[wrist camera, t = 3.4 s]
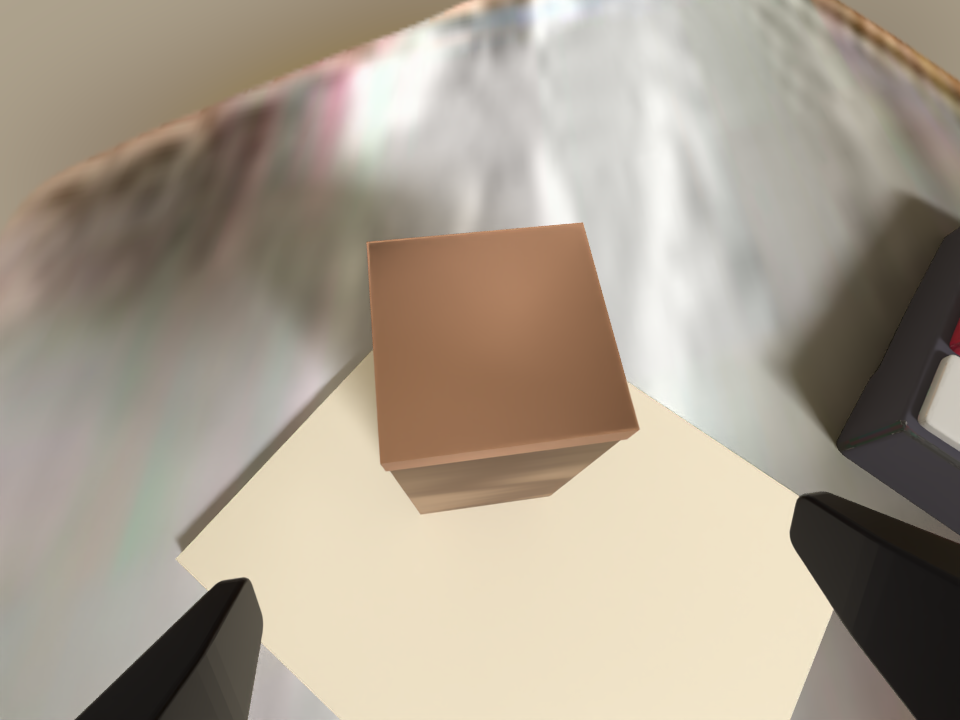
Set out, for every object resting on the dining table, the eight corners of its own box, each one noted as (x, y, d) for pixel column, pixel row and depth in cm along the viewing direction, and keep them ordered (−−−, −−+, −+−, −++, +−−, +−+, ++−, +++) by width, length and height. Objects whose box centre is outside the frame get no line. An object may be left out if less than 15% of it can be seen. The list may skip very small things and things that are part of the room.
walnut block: (527, 375, 21) (582, 222, 12) (551, 497, 19) (639, 429, 10) (408, 389, 20) (366, 241, 11) (419, 516, 18) (380, 463, 9)
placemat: (850, 539, 19) (861, 538, 19) (657, 1016, 14) (665, 1035, 13) (452, 271, 23) (452, 265, 23) (184, 559, 18) (175, 558, 17)
